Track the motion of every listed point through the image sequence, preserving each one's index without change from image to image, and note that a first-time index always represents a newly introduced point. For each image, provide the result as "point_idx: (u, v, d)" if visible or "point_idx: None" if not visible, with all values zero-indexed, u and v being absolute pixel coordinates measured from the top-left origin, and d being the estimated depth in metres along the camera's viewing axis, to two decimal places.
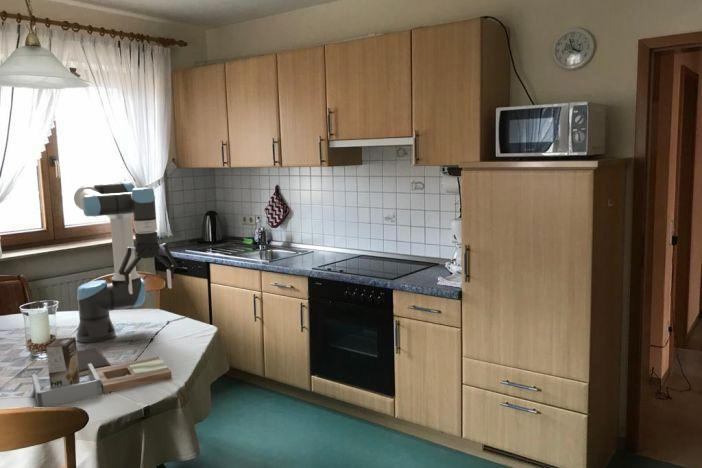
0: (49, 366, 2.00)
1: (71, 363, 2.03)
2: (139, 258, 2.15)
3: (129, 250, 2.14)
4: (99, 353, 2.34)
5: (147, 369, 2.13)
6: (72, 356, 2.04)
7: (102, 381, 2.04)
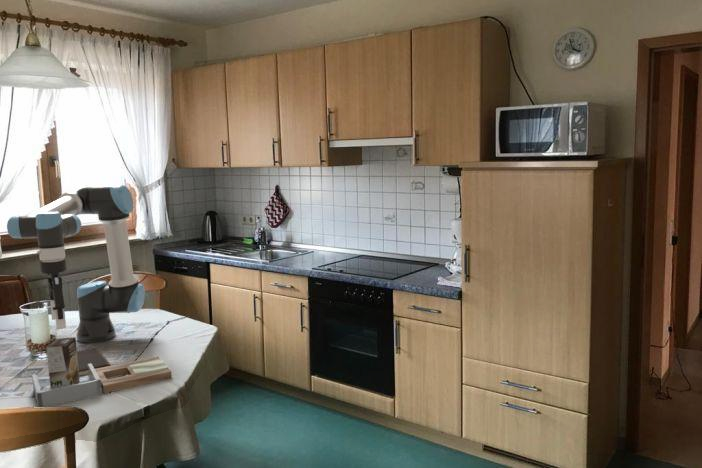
0: (49, 366, 2.00)
1: (71, 363, 2.03)
2: (48, 285, 2.02)
3: (48, 274, 2.05)
4: (99, 353, 2.34)
5: (147, 369, 2.13)
6: (72, 356, 2.04)
7: (102, 381, 2.04)
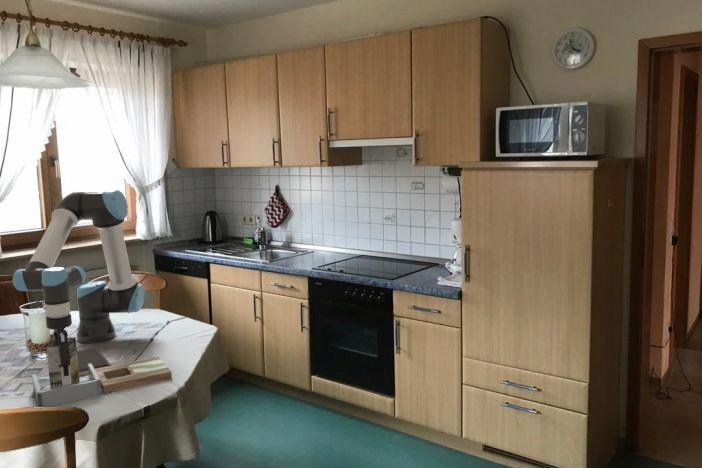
0: (49, 366, 2.00)
1: (71, 363, 2.03)
2: (54, 340, 2.05)
3: (54, 329, 2.07)
4: (99, 353, 2.34)
5: (147, 369, 2.13)
6: (72, 356, 2.04)
7: (102, 381, 2.04)
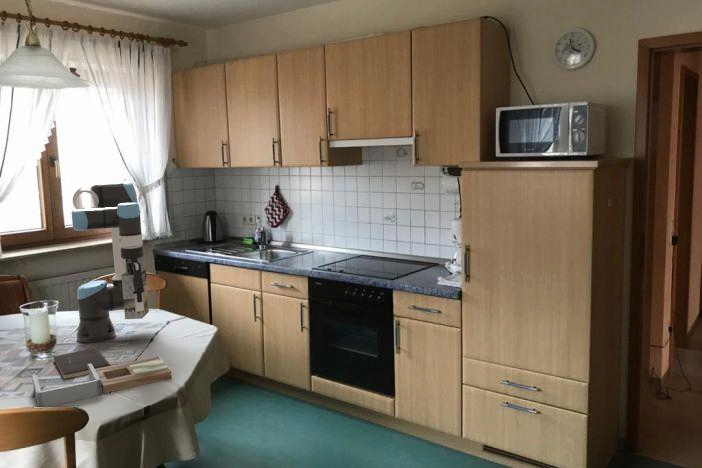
0: (124, 293, 2.16)
1: (143, 292, 2.19)
2: (127, 271, 2.21)
3: (125, 261, 2.24)
4: (99, 354, 2.34)
5: (147, 369, 2.13)
6: (144, 285, 2.21)
7: (102, 381, 2.04)
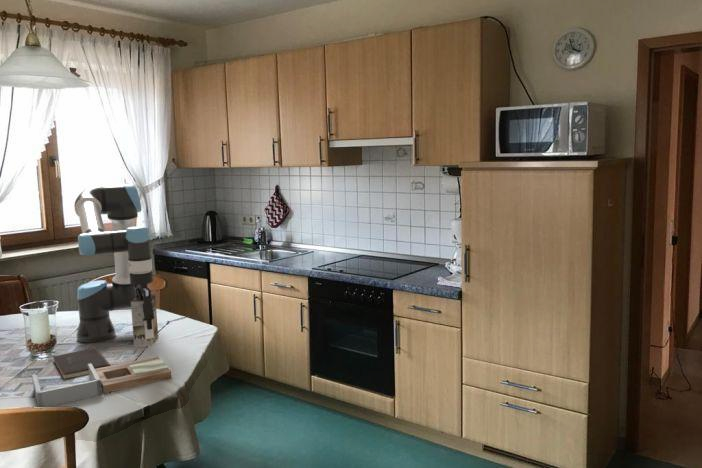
0: (133, 320, 2.09)
1: None
2: (136, 296, 2.14)
3: (134, 286, 2.17)
4: (99, 354, 2.34)
5: (147, 369, 2.13)
6: (153, 311, 2.14)
7: (102, 381, 2.04)
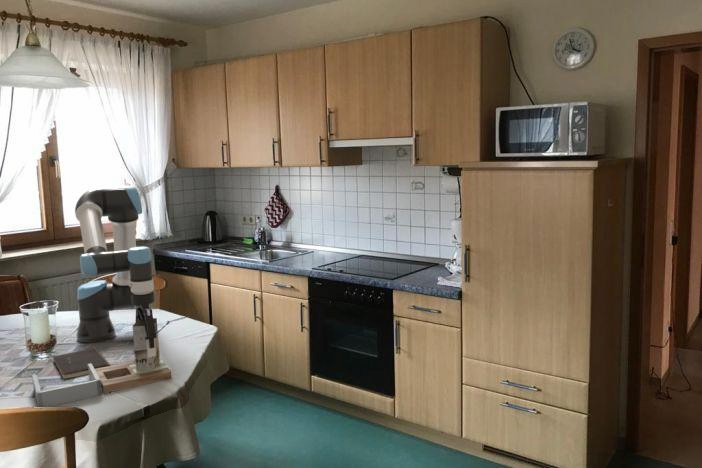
0: (135, 344, 2.10)
1: None
2: (137, 315, 2.15)
3: (136, 304, 2.18)
4: (98, 354, 2.34)
5: None
6: None
7: (102, 381, 2.04)
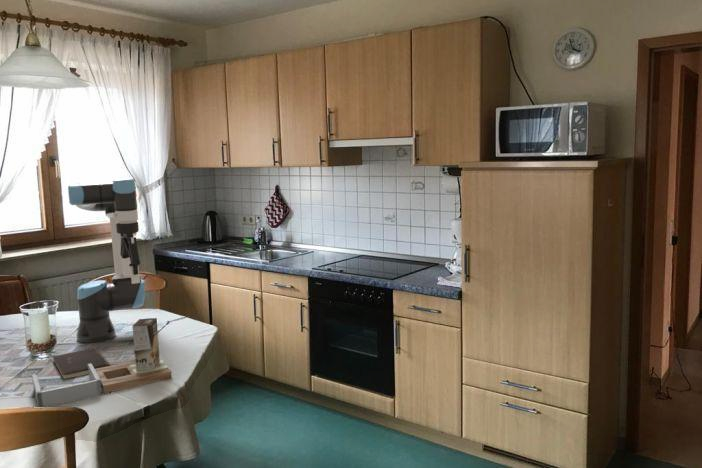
0: (135, 344, 2.10)
1: (154, 342, 2.14)
2: (122, 245, 2.25)
3: (121, 235, 2.27)
4: (98, 354, 2.33)
5: None
6: (155, 335, 2.15)
7: (102, 381, 2.04)
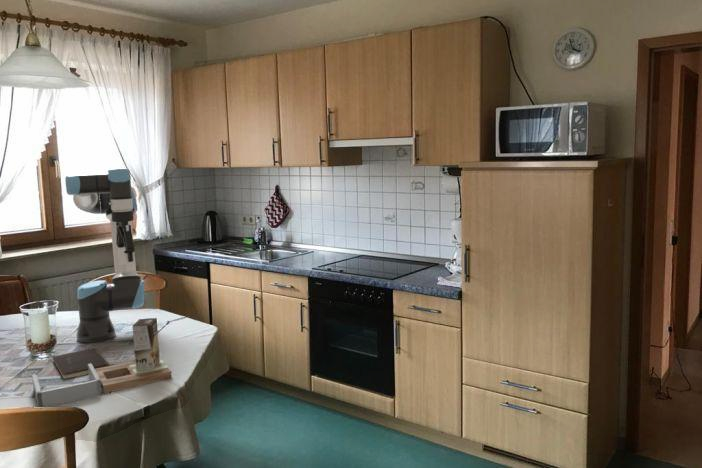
0: (135, 344, 2.10)
1: (154, 342, 2.14)
2: (117, 233, 2.29)
3: (116, 224, 2.31)
4: (98, 354, 2.33)
5: None
6: (155, 335, 2.15)
7: (102, 381, 2.04)
